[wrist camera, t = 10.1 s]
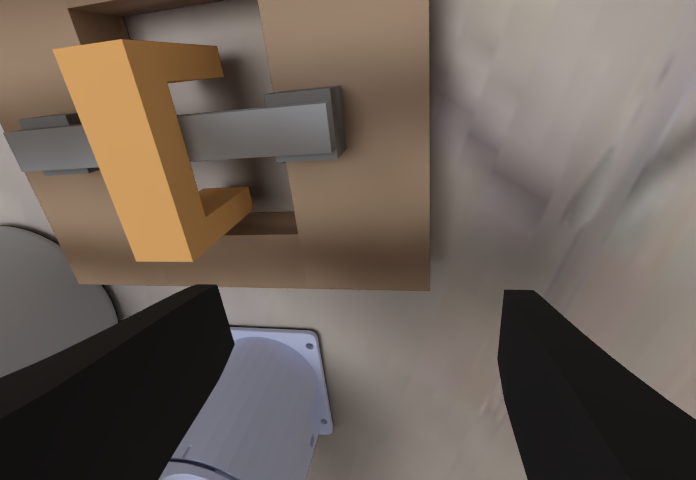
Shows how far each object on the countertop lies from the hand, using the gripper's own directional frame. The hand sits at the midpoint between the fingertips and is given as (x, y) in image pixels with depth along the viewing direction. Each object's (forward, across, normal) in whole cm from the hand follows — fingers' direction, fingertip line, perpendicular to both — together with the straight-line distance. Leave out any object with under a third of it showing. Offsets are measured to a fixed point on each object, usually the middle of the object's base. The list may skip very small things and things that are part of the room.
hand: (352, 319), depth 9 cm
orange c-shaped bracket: (+9, +8, -4) cm, 12 cm away
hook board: (+10, +8, -4) cm, 14 cm away
